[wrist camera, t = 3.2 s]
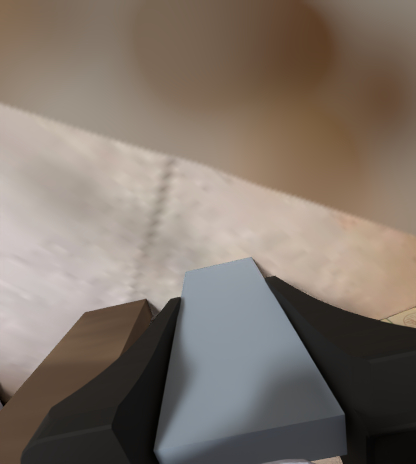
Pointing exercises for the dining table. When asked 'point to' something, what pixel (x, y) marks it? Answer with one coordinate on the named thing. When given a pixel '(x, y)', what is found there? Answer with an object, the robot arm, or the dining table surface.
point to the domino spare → (242, 378)
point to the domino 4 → (69, 370)
